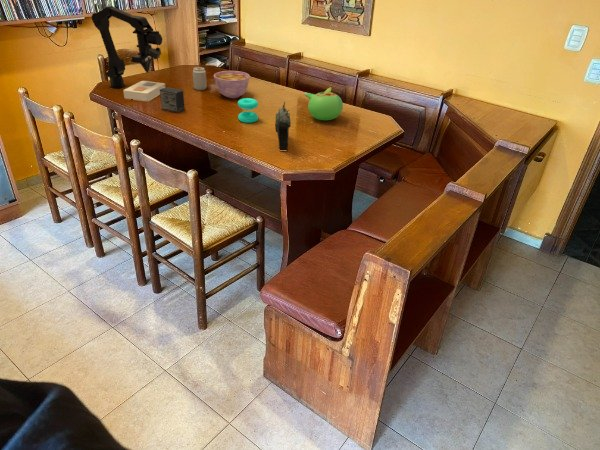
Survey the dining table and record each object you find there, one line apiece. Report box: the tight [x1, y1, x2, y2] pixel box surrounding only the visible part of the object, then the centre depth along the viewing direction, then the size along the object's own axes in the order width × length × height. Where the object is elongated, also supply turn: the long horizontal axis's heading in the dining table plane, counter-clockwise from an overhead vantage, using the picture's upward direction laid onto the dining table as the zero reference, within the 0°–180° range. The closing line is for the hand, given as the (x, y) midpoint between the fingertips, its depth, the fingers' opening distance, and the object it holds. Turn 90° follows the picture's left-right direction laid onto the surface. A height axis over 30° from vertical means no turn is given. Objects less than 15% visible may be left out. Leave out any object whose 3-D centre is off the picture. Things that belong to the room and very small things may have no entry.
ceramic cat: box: [274, 101, 292, 151], centre depth 197 cm, size 20×6×20 cm, turn 5°
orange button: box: [134, 87, 146, 91], centre depth 244 cm, size 5×5×4 cm
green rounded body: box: [303, 86, 344, 121], centre depth 229 cm, size 18×17×15 cm
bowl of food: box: [213, 70, 251, 99], centre depth 253 cm, size 20×20×12 cm
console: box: [122, 80, 166, 102], centre depth 249 cm, size 14×20×4 cm
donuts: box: [237, 97, 259, 124], centre depth 223 cm, size 10×10×10 cm
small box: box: [159, 86, 186, 114], centre depth 230 cm, size 11×6×10 cm, turn 65°
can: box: [192, 66, 208, 91], centre depth 261 cm, size 8×8×12 cm
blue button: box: [143, 82, 155, 86], centre depth 252 cm, size 5×5×4 cm
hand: (147, 72), depth 248 cm, fingers closed
